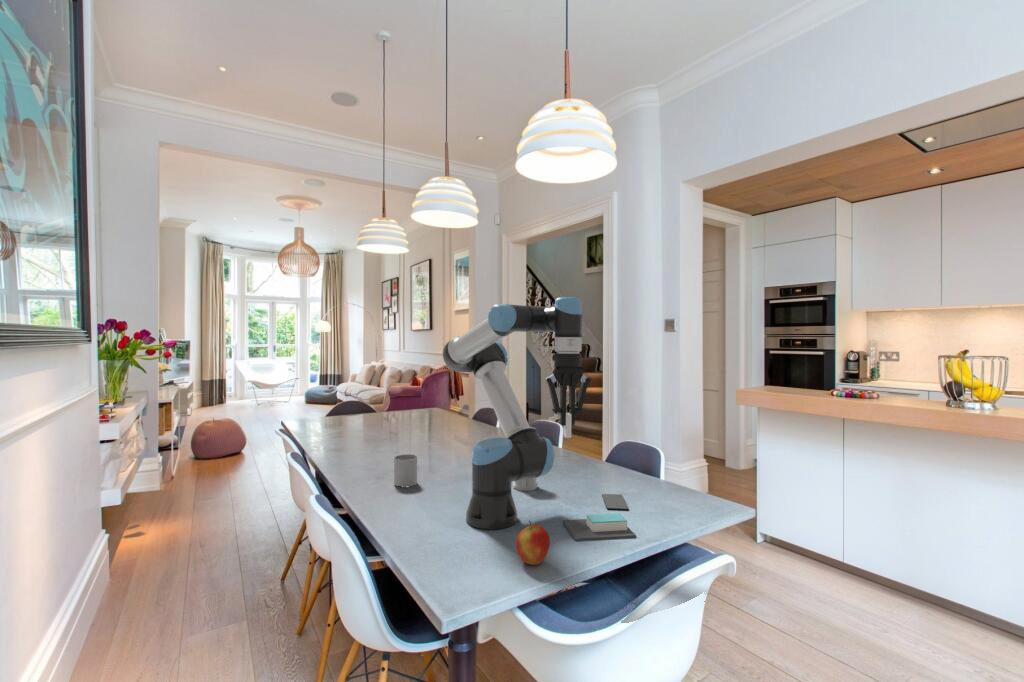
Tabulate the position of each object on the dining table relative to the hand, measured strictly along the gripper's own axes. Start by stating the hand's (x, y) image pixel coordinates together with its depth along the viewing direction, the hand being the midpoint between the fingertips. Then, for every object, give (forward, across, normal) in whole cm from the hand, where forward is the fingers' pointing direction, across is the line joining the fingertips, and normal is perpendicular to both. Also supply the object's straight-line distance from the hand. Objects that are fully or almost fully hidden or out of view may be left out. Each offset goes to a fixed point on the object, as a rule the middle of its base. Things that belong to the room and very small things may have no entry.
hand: (567, 436), depth 131 cm
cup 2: (+27, -5, +41) cm, 49 cm away
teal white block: (+24, +6, 0) cm, 25 cm away
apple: (+27, -13, -17) cm, 34 cm away
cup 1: (+27, -48, +50) cm, 74 cm away
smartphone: (+27, +22, +21) cm, 41 cm away
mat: (+26, +9, 0) cm, 28 cm away
